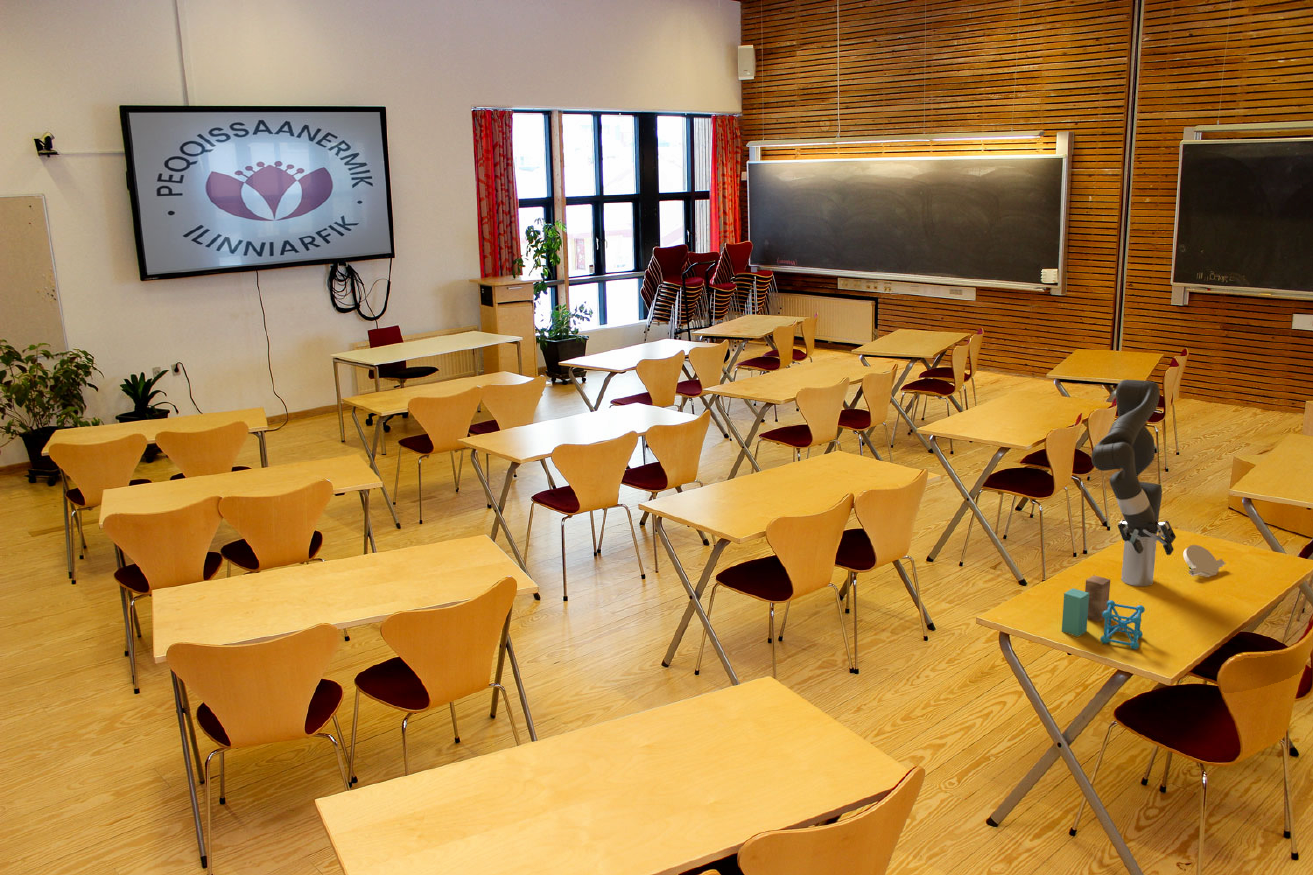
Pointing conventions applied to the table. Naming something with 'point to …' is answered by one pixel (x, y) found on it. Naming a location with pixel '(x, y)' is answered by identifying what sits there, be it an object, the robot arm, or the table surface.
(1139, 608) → the molecular structure
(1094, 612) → the walnut pillar
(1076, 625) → the teal pillar
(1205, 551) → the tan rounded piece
